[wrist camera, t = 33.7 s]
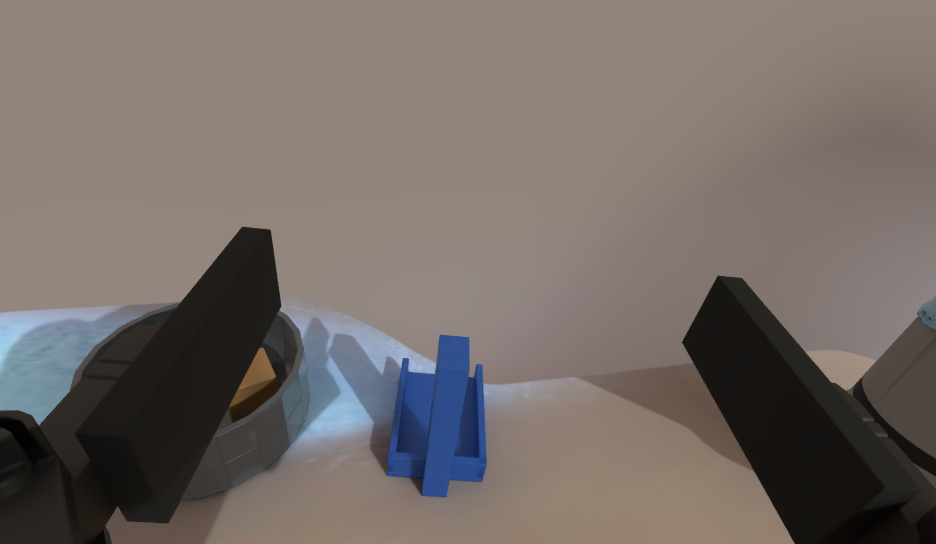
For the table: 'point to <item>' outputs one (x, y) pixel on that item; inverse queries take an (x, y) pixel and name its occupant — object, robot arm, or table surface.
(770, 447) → the robot arm
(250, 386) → the block
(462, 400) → the scoop
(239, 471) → the grey round bin
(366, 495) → the table surface
